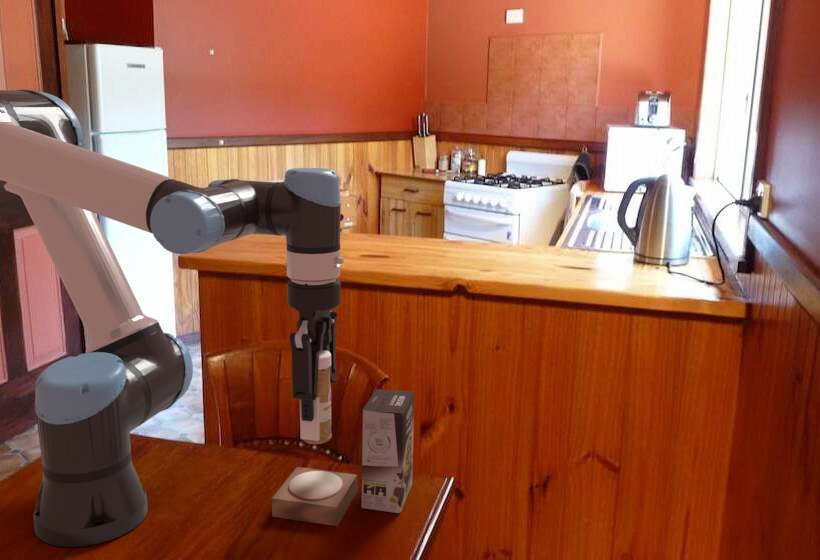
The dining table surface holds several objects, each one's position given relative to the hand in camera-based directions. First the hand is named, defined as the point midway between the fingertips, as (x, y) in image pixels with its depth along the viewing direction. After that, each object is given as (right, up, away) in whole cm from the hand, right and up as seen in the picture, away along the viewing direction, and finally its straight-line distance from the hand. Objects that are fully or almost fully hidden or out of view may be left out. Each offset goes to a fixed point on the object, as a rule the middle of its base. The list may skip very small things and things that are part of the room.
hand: (316, 431), depth 109 cm
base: (0, -12, +3) cm, 12 cm away
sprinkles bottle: (0, -1, 0) cm, 1 cm away
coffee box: (+10, -12, +5) cm, 16 cm away
